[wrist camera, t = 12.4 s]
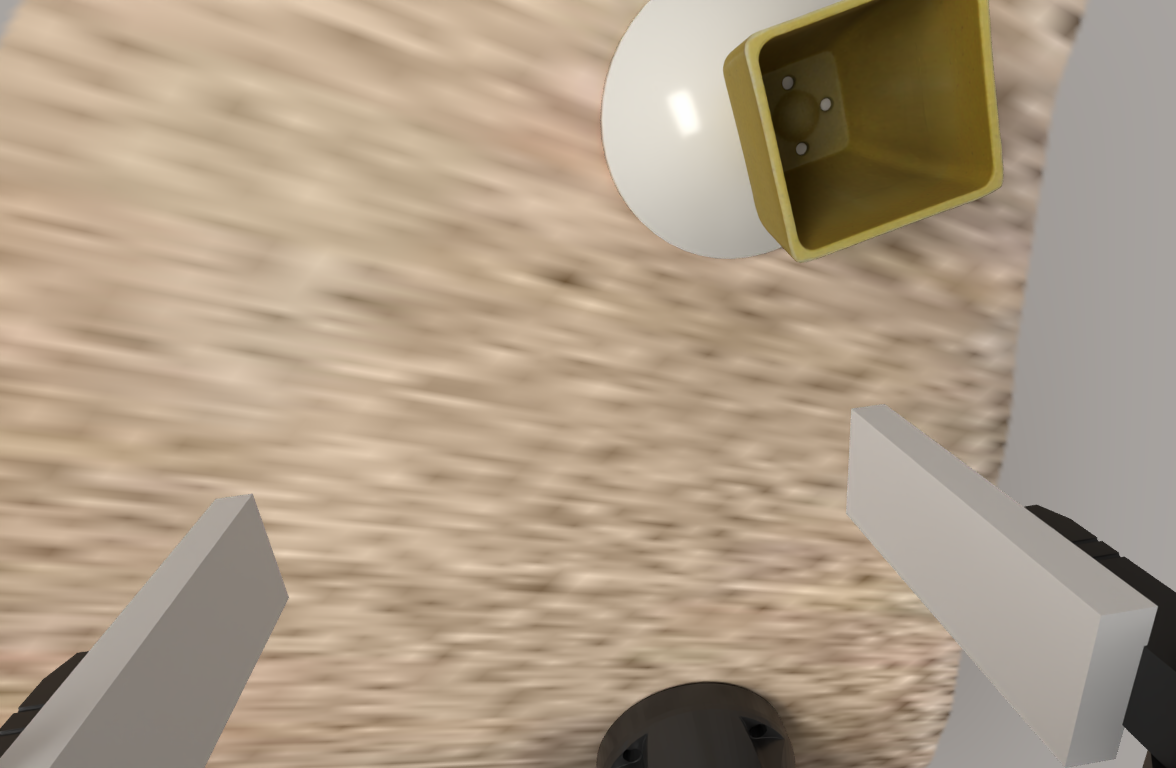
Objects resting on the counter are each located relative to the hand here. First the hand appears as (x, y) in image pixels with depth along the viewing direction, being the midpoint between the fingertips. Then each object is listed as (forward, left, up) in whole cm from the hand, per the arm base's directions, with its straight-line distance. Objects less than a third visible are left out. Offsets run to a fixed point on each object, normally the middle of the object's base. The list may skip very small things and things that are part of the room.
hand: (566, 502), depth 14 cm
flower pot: (+6, -14, -22) cm, 26 cm away
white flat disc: (+6, -11, -23) cm, 26 cm away
